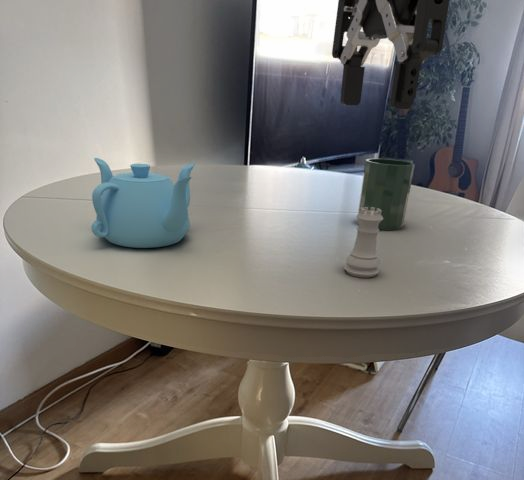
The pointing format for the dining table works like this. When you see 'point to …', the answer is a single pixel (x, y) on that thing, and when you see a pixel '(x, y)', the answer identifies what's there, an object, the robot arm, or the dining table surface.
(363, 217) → the rook chess piece
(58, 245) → the dining table surface
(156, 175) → the teapot
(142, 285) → the dining table surface
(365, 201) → the holder
